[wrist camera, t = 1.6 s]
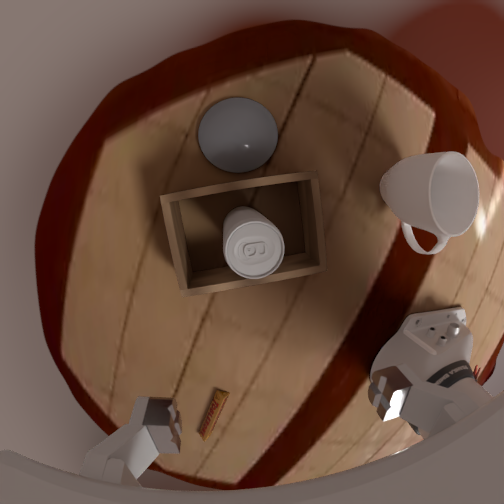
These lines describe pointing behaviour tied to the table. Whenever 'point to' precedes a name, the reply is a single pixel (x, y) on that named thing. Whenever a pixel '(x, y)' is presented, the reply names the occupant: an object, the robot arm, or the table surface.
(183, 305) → the table surface
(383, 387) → the robot arm
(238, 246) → the beverage can
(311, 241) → the box
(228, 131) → the slate coaster
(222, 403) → the chocolate bar
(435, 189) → the mug
